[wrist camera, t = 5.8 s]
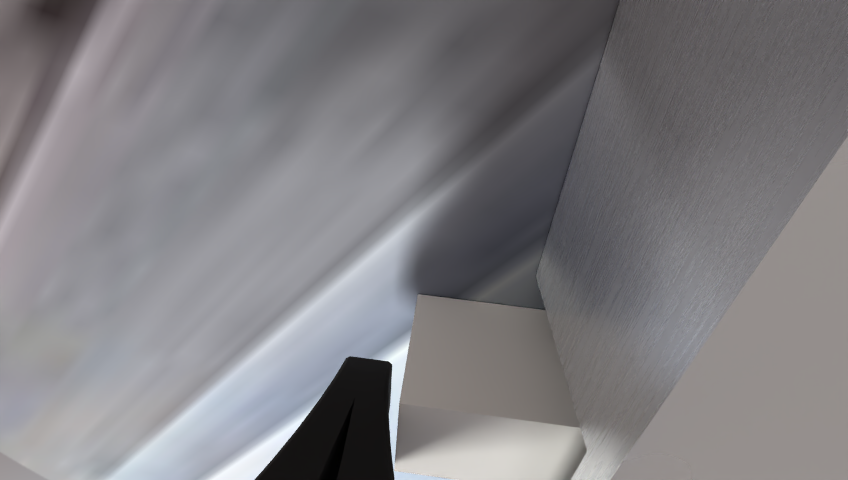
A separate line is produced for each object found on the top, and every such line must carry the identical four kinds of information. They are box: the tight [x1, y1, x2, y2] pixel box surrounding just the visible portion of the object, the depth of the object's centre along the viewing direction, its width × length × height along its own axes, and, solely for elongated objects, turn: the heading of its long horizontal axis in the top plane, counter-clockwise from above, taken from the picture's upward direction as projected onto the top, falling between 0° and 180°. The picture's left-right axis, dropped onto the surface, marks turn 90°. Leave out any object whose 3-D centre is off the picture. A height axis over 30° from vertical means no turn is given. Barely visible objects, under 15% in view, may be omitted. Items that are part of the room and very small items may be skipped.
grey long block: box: [536, 0, 848, 480], centre depth 10 cm, size 20×6×6 cm, turn 175°
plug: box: [394, 294, 587, 480], centre depth 10 cm, size 4×14×4 cm, turn 85°
